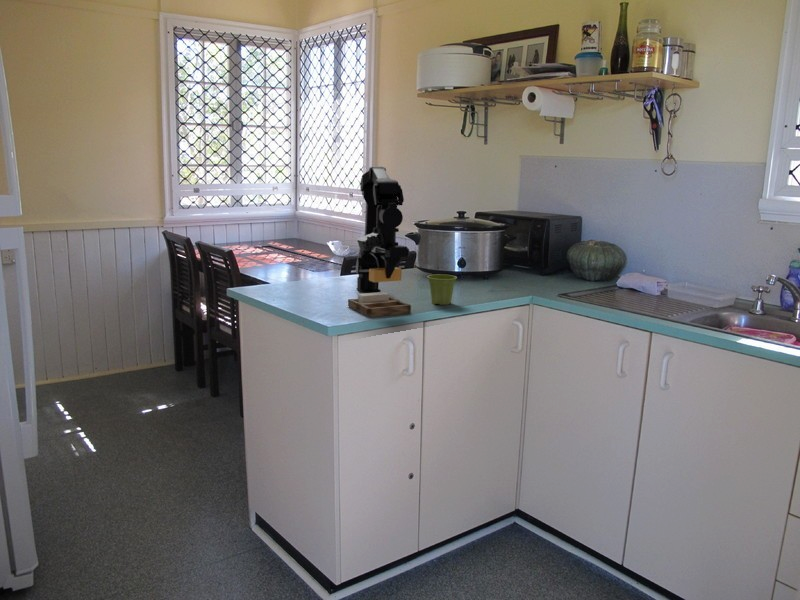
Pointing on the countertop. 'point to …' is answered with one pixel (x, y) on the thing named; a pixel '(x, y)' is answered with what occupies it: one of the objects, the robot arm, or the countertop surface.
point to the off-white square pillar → (373, 297)
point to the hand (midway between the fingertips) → (385, 277)
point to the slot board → (380, 307)
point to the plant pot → (441, 288)
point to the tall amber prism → (384, 275)
